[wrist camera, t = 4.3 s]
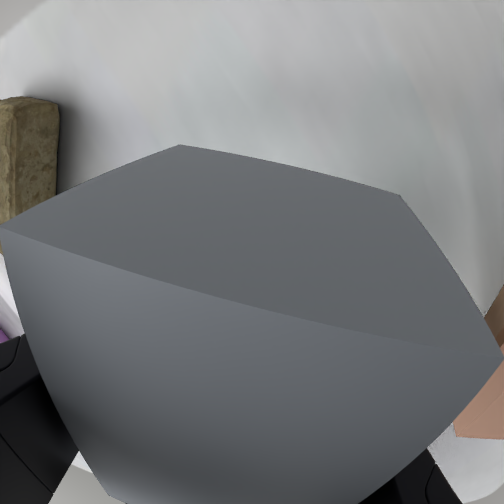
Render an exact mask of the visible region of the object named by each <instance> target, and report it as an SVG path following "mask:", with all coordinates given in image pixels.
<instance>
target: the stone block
mask: <svg viewBox="0 0 504 504" xmlns="http://www.w3.org/2000/svg"><path fill="white" fill-rule="evenodd" d="M59 124H60V123H59V111H58V106H57V104H55V103H52V102H49V101H45V100H40V99H35V98H31V97H23V96H20V97H11V98H8V99H4V100H0V225H1V224H3V223H5V222H6V221H8V220H10V219H12V218H14V217H15V216H17V215H19V214H21V213H23V212H25V211H27V210H28V209H30V208H32V207H34V206H36V205H38V204H40V203H42V202H44V201H46V200H48V199H50V198H52V197H54V196H56V170H57V147H58V139H59ZM0 253H1V254H2V255H3V251H2V246H1V241H0Z"/></svg>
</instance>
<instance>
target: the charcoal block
mask: <svg viewBox="0 0 504 504" xmlns="http://www.w3.org/2000/svg"><path fill="white" fill-rule="evenodd" d="M0 241H1V246H2V251H3V256H4V261H5V265H6V270H7V274H8V278H9V282H10V286H11V290H12V293H13V297H14V300H15V304H16V307H17V310H18V314H19V317H20V320H21V323H22V326H23V329H24V332H25V335H26V338H27V341H28V343H29V346H30V349H31V351H32V354H33V357H34V359H35V362H36V364H37V367H38V369H39V372H40V374H41V376H42V379H43V381H44V383H45V385H46V388H47V390H48V392H49V394H50V396H51V398H52V401H53V403H54V405H55V407H56V409H57V411H58V413H59V415H60V417H61V419H62V421H63V423H64V424H65V426H66V428H67V430H68V432H69V434H70V435H71V437H72V439H73V441H74V443H75V444H76V446H77V448H78V449H79V451H80V453H81V454H82V456H83V458H84V459H85V461H86V463H87V464H88V466H89V467H90V469H91V470H92V472H93V474H94V475H95V477H96V478H97V480H98V481H99V482H100V484H101V485H102V487H103V488H104V490H105V491H106V492H107V494H108V495H109V496H111V497H113V498H115V499H118V500H120V501H122V502H124V503H127V504H358V503H360V502H361V501H362V500H364V499H365V498H367V497H368V496H369V495H371V494H372V493H373V492H375V491H376V490H377V489H379V488H380V487H381V486H383V485H384V484H385V483H386V482H388V481H389V480H390V479H391V478H393V477H394V476H395V475H396V474H398V473H399V472H400V471H401V470H402V469H403V468H405V467H406V466H407V465H408V464H409V463H410V462H412V461H413V460H414V459H415V458H416V457H417V456H418V455H419V454H420V453H422V452H423V451H424V450H425V449H426V448H427V447H428V446H429V445H430V444H431V443H432V442H433V441H434V440H435V439H436V438H437V437H438V436H439V435H440V434H441V433H442V432H443V431H444V430H445V429H446V428H447V427H448V426H449V425H450V424H451V423H452V422H453V421H454V420H455V419H456V418H457V417H458V415H459V414H460V413H461V412H462V411H463V410H464V409H465V408H466V406H467V405H468V404H469V403H470V402H471V401H472V400H473V398H474V397H475V396H476V395H477V394H478V392H479V391H480V390H481V389H482V387H483V386H484V385H485V384H486V382H487V381H488V380H489V379H490V377H491V376H492V375H493V373H494V372H495V371H496V369H497V368H498V367H499V365H500V364H501V363H502V361H503V360H504V355H503V353H502V351H501V349H500V347H499V345H498V343H497V341H496V340H495V338H494V336H493V334H492V332H491V330H490V328H489V327H488V325H487V323H486V321H485V319H484V318H483V316H482V314H481V312H480V311H479V309H478V307H477V306H476V304H475V302H474V301H473V299H472V297H471V296H470V294H469V292H468V291H467V289H466V287H465V286H464V284H463V283H462V281H461V280H460V278H459V276H458V275H457V273H456V272H455V270H454V269H453V267H452V266H451V264H450V263H449V261H448V260H447V258H446V257H445V255H444V254H443V252H442V251H441V250H440V248H439V247H438V245H437V244H436V242H435V241H434V240H433V238H432V237H431V236H430V234H429V233H428V231H427V230H426V229H425V227H424V226H423V225H422V223H421V222H420V221H419V219H418V218H417V217H416V215H415V214H414V213H413V211H412V210H411V209H410V208H409V206H408V205H407V204H406V203H405V201H404V200H403V199H402V198H401V196H400V195H397V194H394V193H391V192H388V191H384V190H381V189H377V188H374V187H371V186H367V185H364V184H360V183H356V182H353V181H349V180H345V179H342V178H338V177H334V176H330V175H326V174H322V173H318V172H314V171H310V170H306V169H302V168H298V167H293V166H289V165H285V164H280V163H276V162H271V161H266V160H262V159H257V158H252V157H247V156H242V155H237V154H232V153H226V152H221V151H215V150H210V149H204V148H198V147H192V146H186V145H177V146H174V147H171V148H169V149H166V150H163V151H160V152H157V153H155V154H152V155H149V156H147V157H144V158H141V159H139V160H136V161H134V162H131V163H129V164H126V165H124V166H121V167H119V168H116V169H114V170H112V171H109V172H107V173H104V174H102V175H100V176H97V177H95V178H93V179H91V180H88V181H86V182H84V183H82V184H79V185H77V186H75V187H73V188H71V189H69V190H67V191H64V192H62V193H60V194H58V195H56V196H54V197H52V198H50V199H48V200H46V201H44V202H42V203H40V204H38V205H36V206H34V207H32V208H30V209H28V210H27V211H25V212H23V213H21V214H19V215H17V216H15V217H14V218H12V219H10V220H8V221H6V222H5V223H3V224H1V225H0Z"/></svg>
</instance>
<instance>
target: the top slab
mask: <svg viewBox="0 0 504 504" xmlns="http://www.w3.org/2000/svg"><path fill="white" fill-rule="evenodd" d="M500 349H501V351H502V353H503V355H504V343H503V345H502V346H501V347H500ZM453 424H454V428H455V433H456V436H457V437H468V438H483V439H504V360H503V361H502V363H501V364H500V365H499V367H498V368H497V369H496V371H495V372H494V373H493V375H492V376H491V377H490V379H489V380H488V381H487V382H486V384H485V385H484V386H483V387H482V389H481V390H480V391H479V392H478V394H477V395H476V396H475V397H474V398H473V400H472V401H471V402H470V403H469V404H468V405H467V406H466V408H465V409H464V410H463V411H462V412H461V413H460V414H459V415H458V417H457V418H456V419H455V420H454V421H453Z"/></svg>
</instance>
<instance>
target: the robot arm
mask: <svg viewBox="0 0 504 504" xmlns="http://www.w3.org/2000/svg"><path fill="white" fill-rule="evenodd" d="M78 451H79V449H78V448H77V446H76V444H75V443H74V441H73V439H72V437H71V435H70V434H69V432H68V430H67V428H66V426H65V424H64V423H63V421H62V419H61V417H60V415H59V413H58V411H57V409H56V407H55V405H54V403H53V401H52V398H51V396H50V394H49V392H48V390H47V388H46V385H45V383H44V381H43V379H42V376H41V374H40V372H39V369H38V367H37V364H36V362H35V359H34V357H33V354H32V351H31V349H30V346H29V343H28V341H27V338H26V335H25V334H23V335H21V337H20V336H17V337H15V338H12V339H10V340H7V341H5V342H2V343H0V504H48V503H49V501H50V500H51V498H52V496H53V493H54V492H55V491H56V489H57V487H58V485H59V484H60V482H61V480H62V478H63V477H64V475H65V473H66V472H67V470H68V468H69V466H70V465H71V463H72V461H73V460H74V458H75V456H76V455H77V453H78ZM126 504H127V503H126ZM358 504H462V502H461V501H460V499H459V498H458V497H457V495H456V494H455V492H454V491H453V489H452V488H451V486H450V485H449V483H448V481H447V480H446V478H445V477H444V475H443V473H442V472H441V470H440V468H439V467H438V465H437V464H435V460H434V459H433V457H432V455H431V454H430V452H429V451H428V449H427V448H426V449H425V450H424V451H423V452H422V453H420V454H419V455H418V456H417V457H416V458H415V459H414V460H413V461H412V462H410V463H409V464H408V465H407V466H406V467H405V468H403V469H402V470H401V471H400V472H399V473H398V474H396V475H395V476H394V477H393V478H391V479H390V480H389V481H388V482H386V483H385V484H384V485H383V486H381V487H380V488H379V489H377V490H376V491H375V492H373V493H372V494H371V495H369V496H368V497H367V498H365V499H364V500H362V501H361V502H360V503H358Z"/></svg>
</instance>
